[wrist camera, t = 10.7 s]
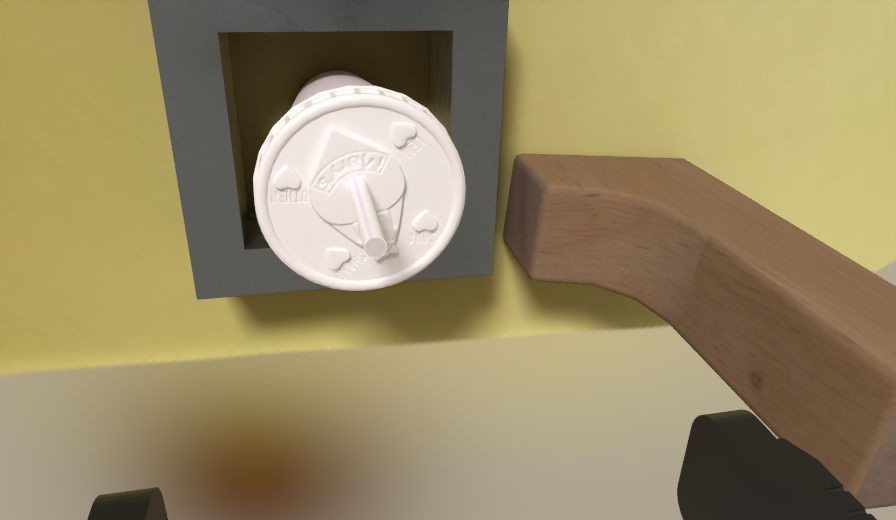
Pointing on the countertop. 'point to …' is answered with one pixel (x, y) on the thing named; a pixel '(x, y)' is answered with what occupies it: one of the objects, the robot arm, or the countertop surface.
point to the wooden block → (728, 296)
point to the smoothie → (357, 185)
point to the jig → (218, 141)
